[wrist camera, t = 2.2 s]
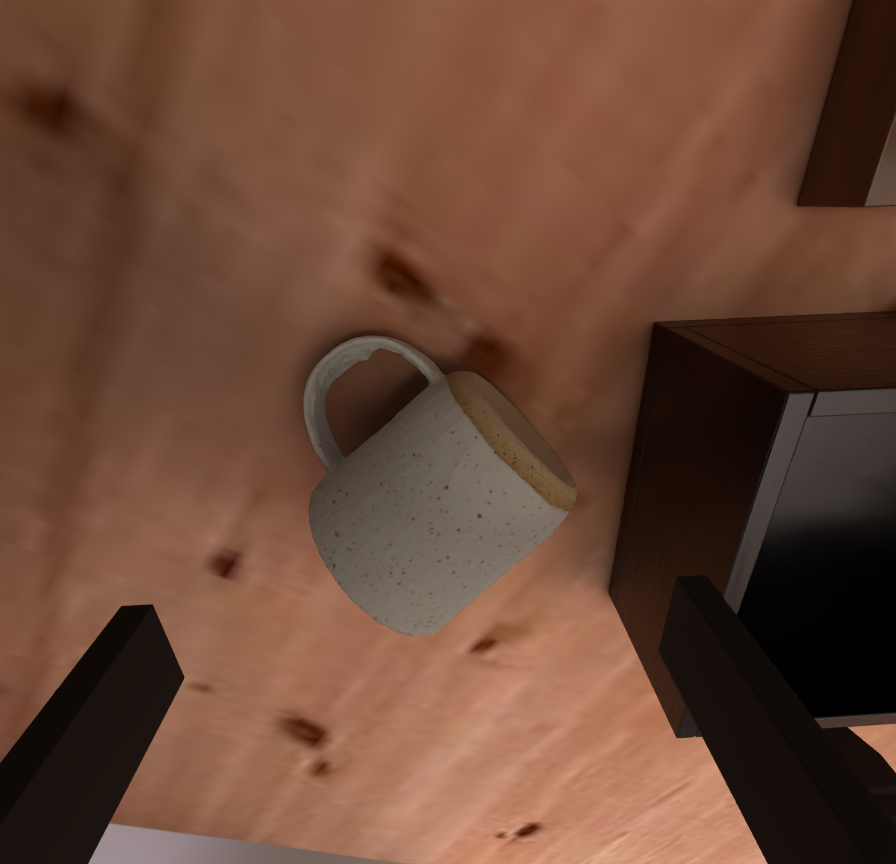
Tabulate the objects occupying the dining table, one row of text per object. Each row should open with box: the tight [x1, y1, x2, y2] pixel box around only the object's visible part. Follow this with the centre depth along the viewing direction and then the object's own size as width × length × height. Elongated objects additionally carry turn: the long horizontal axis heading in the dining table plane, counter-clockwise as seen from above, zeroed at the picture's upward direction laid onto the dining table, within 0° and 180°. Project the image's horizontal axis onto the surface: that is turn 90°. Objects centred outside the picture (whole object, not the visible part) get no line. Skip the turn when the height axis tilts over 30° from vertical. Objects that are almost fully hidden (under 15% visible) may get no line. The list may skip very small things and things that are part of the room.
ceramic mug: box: [303, 336, 577, 636], centre depth 18 cm, size 11×8×8 cm
